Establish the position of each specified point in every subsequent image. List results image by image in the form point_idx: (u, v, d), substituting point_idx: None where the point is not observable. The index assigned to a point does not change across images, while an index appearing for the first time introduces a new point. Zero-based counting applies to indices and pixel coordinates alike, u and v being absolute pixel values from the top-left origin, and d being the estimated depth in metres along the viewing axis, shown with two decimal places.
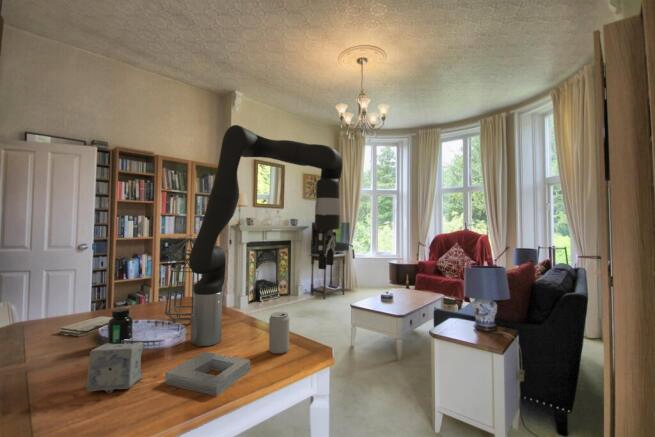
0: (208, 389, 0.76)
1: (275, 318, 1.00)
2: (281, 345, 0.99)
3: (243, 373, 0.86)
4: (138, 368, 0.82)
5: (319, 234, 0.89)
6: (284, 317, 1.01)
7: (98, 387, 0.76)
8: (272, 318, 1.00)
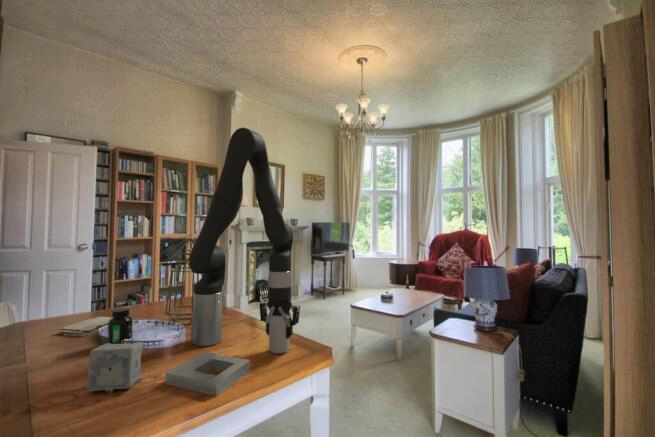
0: (208, 389, 0.76)
1: (275, 318, 1.00)
2: (281, 345, 0.99)
3: (243, 373, 0.86)
4: (138, 368, 0.82)
5: (297, 307, 1.00)
6: None
7: (98, 387, 0.76)
8: (272, 318, 1.00)
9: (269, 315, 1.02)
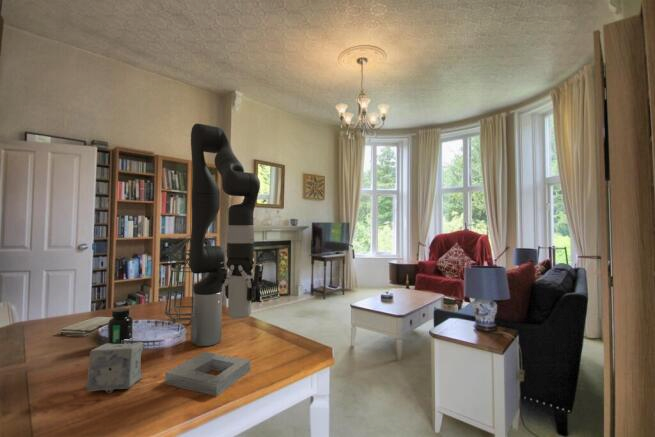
0: (208, 389, 0.76)
1: (234, 278, 0.88)
2: (241, 308, 0.88)
3: (243, 373, 0.86)
4: (138, 368, 0.82)
5: (260, 265, 0.88)
6: None
7: (98, 387, 0.76)
8: (231, 278, 0.88)
9: (228, 275, 0.90)
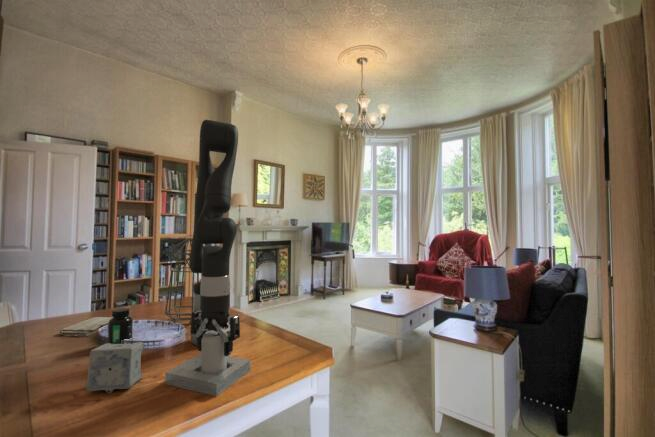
0: (208, 389, 0.76)
1: (207, 339, 0.82)
2: (214, 372, 0.81)
3: (243, 373, 0.86)
4: (138, 368, 0.82)
5: (235, 318, 0.82)
6: (218, 337, 0.82)
7: (98, 387, 0.76)
8: (204, 339, 0.82)
9: (201, 328, 0.84)
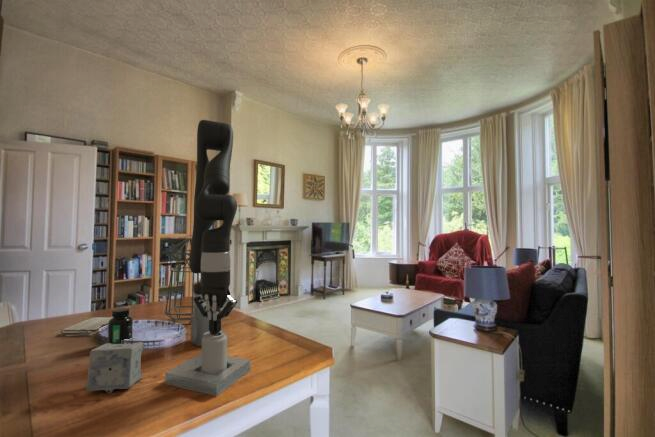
0: (208, 389, 0.76)
1: (207, 339, 0.82)
2: (214, 372, 0.81)
3: (243, 373, 0.86)
4: (138, 368, 0.82)
5: (233, 303, 0.82)
6: (219, 337, 0.82)
7: (98, 387, 0.76)
8: (204, 339, 0.82)
9: (207, 307, 0.83)
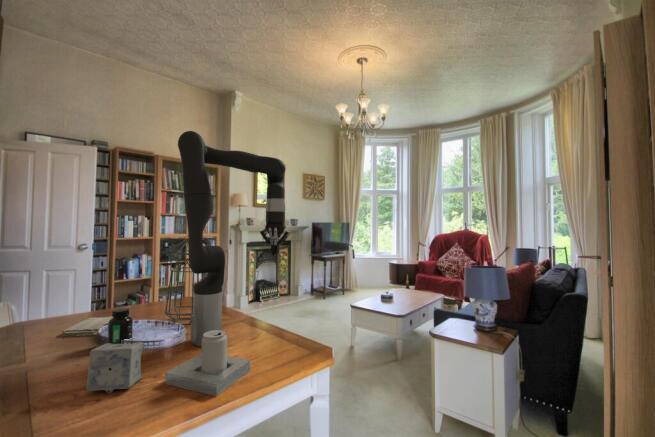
0: (208, 389, 0.76)
1: (207, 339, 0.82)
2: (214, 372, 0.81)
3: (243, 373, 0.86)
4: (138, 368, 0.82)
5: (288, 233, 1.21)
6: (219, 337, 0.82)
7: (98, 387, 0.76)
8: (204, 339, 0.82)
9: (270, 236, 1.23)
